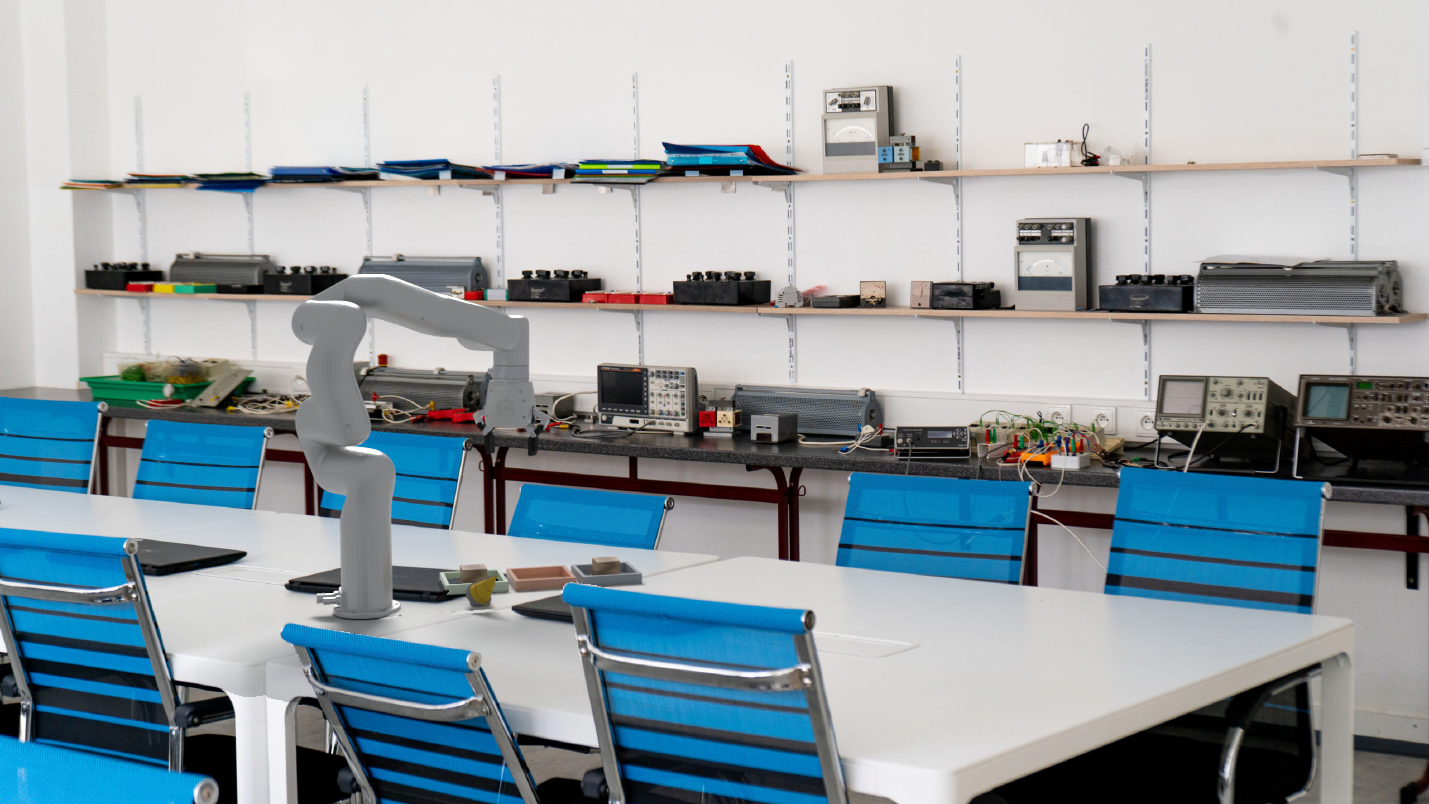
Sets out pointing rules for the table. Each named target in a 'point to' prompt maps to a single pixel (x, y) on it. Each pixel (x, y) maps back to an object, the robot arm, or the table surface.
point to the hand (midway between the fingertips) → (511, 454)
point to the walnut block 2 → (605, 566)
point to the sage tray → (461, 588)
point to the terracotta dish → (539, 577)
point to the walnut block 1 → (473, 573)
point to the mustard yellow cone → (480, 592)
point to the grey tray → (626, 575)
